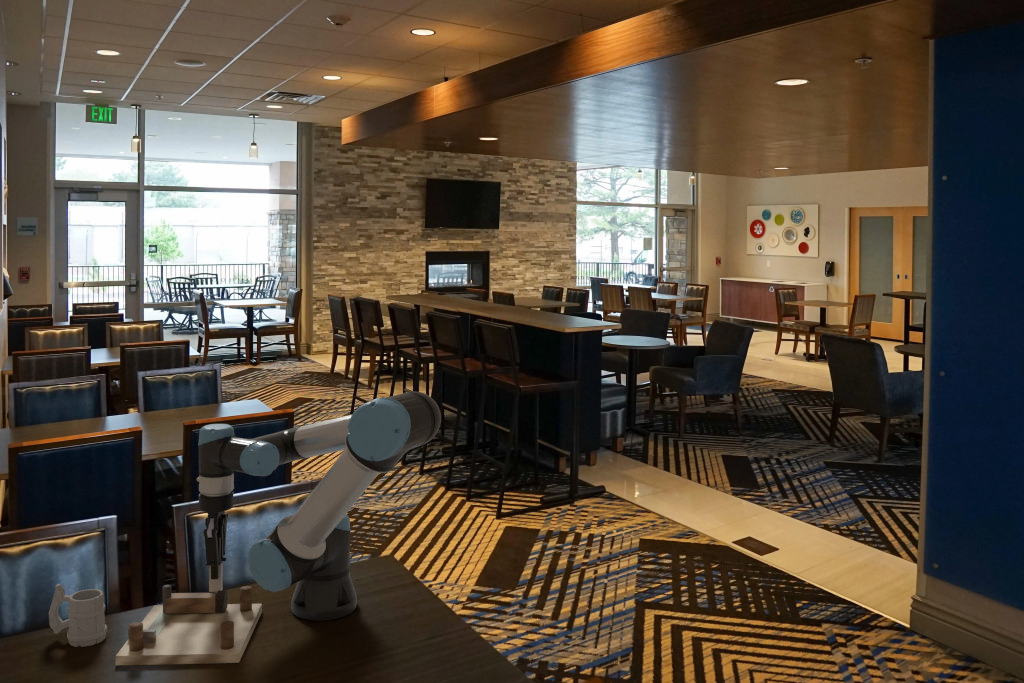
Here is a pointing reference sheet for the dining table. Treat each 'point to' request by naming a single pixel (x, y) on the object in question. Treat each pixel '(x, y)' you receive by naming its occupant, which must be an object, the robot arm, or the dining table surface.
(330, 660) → the dining table surface
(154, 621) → the stool seat
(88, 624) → the mug
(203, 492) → the robot arm
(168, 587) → the brown piece
